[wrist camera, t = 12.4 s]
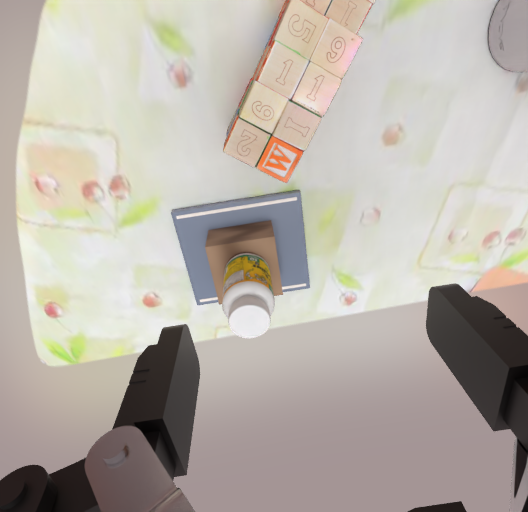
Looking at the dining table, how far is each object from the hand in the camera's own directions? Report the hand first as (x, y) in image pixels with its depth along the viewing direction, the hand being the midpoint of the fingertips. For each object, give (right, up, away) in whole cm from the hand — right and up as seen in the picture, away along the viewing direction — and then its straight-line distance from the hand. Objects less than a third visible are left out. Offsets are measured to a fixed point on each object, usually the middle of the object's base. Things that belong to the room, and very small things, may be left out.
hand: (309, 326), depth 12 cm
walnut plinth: (-4, +3, +35) cm, 35 cm away
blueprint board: (-4, +3, +35) cm, 36 cm away
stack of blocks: (+2, +24, +25) cm, 35 cm away
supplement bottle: (-3, +1, +30) cm, 30 cm away
